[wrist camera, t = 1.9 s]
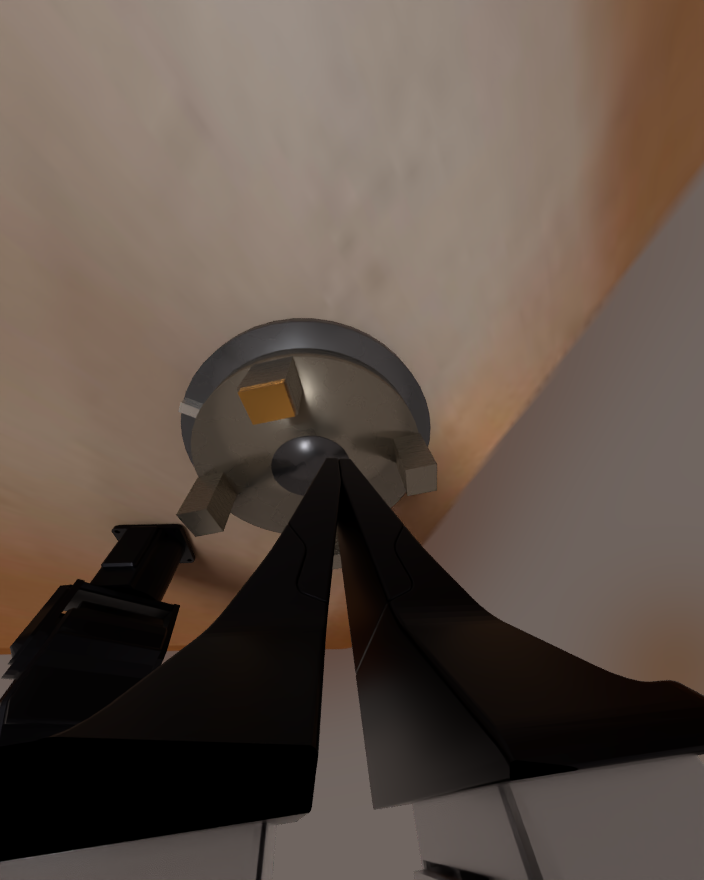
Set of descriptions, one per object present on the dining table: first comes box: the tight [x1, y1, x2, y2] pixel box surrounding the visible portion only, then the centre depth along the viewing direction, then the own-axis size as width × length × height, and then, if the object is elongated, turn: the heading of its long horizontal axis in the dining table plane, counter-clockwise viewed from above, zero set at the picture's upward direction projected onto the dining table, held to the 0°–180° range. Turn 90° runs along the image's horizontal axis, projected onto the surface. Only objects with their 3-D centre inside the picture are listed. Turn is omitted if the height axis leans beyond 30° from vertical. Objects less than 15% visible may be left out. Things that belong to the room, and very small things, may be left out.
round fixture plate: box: [176, 348, 437, 570], centre depth 19 cm, size 17×17×6 cm
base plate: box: [179, 318, 430, 466], centre depth 22 cm, size 20×20×2 cm
